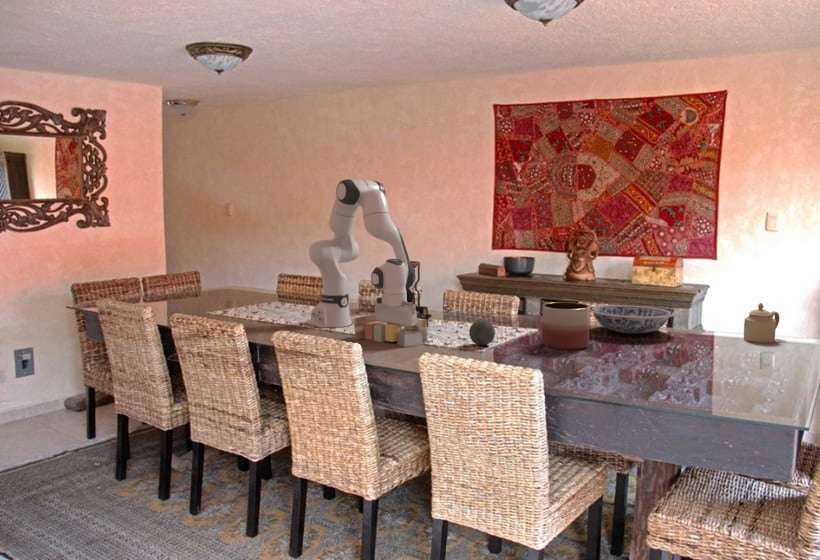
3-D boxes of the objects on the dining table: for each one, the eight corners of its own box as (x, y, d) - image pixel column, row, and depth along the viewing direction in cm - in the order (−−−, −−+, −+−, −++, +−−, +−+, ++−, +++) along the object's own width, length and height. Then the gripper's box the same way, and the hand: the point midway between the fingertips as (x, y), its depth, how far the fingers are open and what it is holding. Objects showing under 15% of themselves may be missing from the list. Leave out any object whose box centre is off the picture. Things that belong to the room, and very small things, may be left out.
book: (385, 340, 263) (385, 324, 262) (399, 337, 269) (398, 321, 268) (392, 341, 260) (392, 325, 260) (406, 338, 266) (406, 322, 266)
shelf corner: (354, 339, 270) (354, 317, 269) (380, 333, 281) (380, 312, 280) (401, 348, 253) (401, 325, 251) (427, 342, 264) (427, 319, 263)
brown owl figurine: (408, 305, 301) (444, 305, 282) (409, 328, 301) (445, 331, 282) (382, 307, 292) (418, 308, 272) (383, 332, 292) (419, 334, 273)
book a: (364, 339, 271) (364, 323, 270) (378, 335, 277) (378, 320, 276) (371, 340, 269) (371, 324, 268) (385, 337, 274) (384, 321, 274)
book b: (374, 340, 268) (373, 325, 267) (387, 337, 273) (387, 322, 273) (381, 342, 265) (380, 326, 264) (394, 338, 271) (394, 323, 270)
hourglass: (420, 313, 330) (420, 263, 327) (388, 313, 330) (387, 263, 327) (420, 307, 346) (420, 260, 343) (390, 308, 346) (389, 260, 343)
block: (397, 344, 261) (397, 332, 260) (415, 342, 264) (415, 330, 264) (404, 347, 255) (404, 334, 255) (422, 345, 259) (422, 332, 259)
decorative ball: (464, 343, 260) (464, 318, 259) (486, 341, 264) (486, 316, 263) (477, 349, 251) (477, 323, 250) (499, 346, 255) (500, 321, 254)
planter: (562, 352, 244) (563, 310, 242) (532, 343, 259) (532, 304, 258) (598, 347, 252) (599, 306, 250) (567, 339, 268) (568, 300, 266)
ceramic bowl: (686, 331, 279) (687, 308, 278) (652, 345, 254) (653, 319, 253) (610, 322, 303) (611, 300, 301) (572, 333, 278) (573, 310, 276)
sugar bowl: (749, 334, 273) (751, 298, 271) (779, 337, 266) (781, 301, 264) (740, 340, 261) (742, 303, 259) (771, 344, 254) (774, 305, 252)
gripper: (420, 301, 258) (420, 336, 260) (382, 296, 272) (383, 329, 274) (409, 303, 254) (410, 339, 255) (372, 298, 267) (372, 332, 269)
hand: (395, 334), depth 265 cm, fingers closed on book, 4 cm apart
